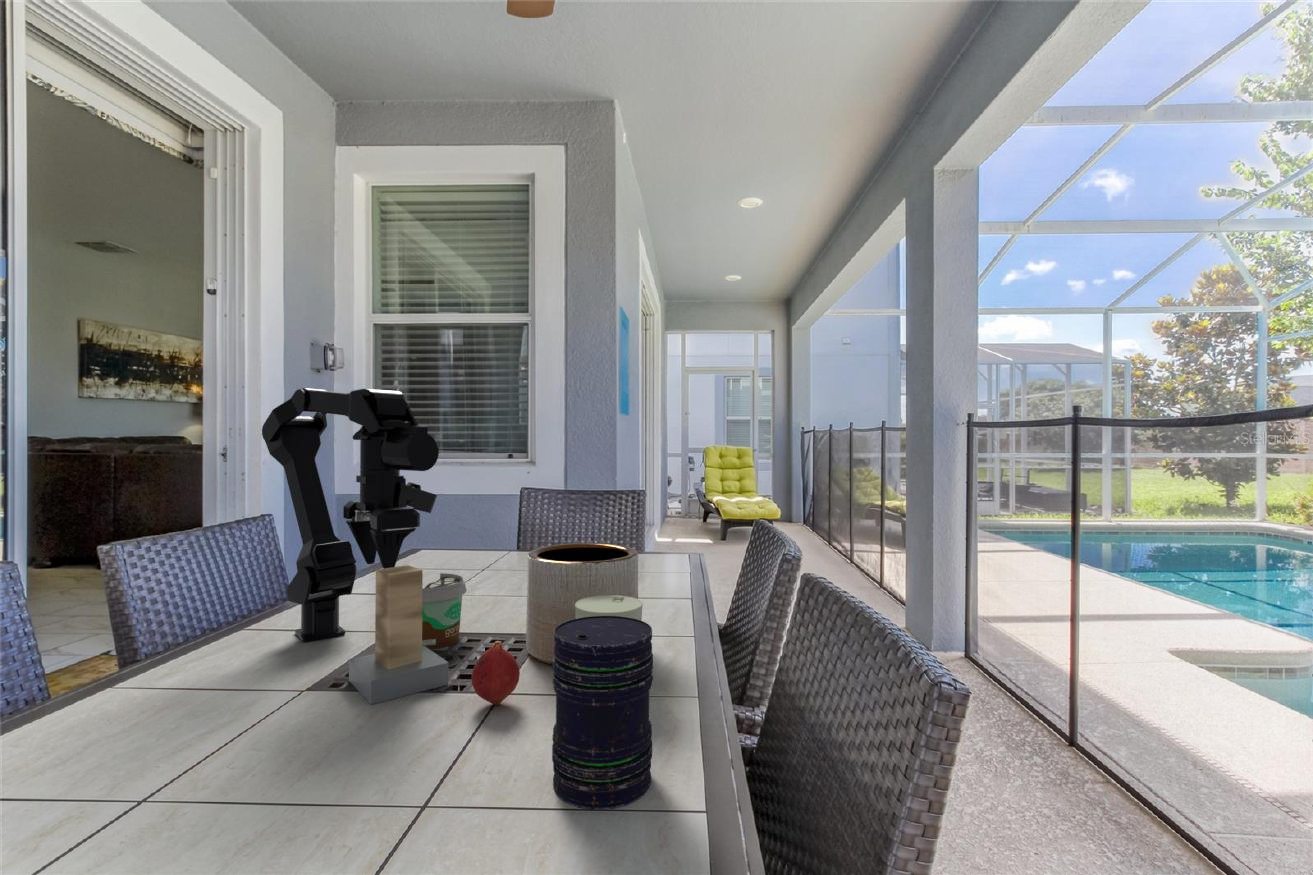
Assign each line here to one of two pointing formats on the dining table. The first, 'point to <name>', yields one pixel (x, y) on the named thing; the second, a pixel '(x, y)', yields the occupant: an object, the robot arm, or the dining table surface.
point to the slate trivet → (397, 676)
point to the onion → (495, 674)
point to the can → (609, 606)
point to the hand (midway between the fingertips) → (379, 568)
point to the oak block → (398, 616)
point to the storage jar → (602, 711)
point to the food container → (442, 611)
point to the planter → (572, 586)
